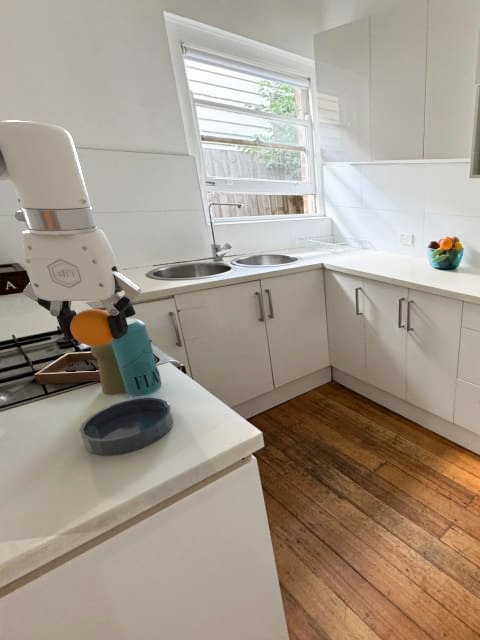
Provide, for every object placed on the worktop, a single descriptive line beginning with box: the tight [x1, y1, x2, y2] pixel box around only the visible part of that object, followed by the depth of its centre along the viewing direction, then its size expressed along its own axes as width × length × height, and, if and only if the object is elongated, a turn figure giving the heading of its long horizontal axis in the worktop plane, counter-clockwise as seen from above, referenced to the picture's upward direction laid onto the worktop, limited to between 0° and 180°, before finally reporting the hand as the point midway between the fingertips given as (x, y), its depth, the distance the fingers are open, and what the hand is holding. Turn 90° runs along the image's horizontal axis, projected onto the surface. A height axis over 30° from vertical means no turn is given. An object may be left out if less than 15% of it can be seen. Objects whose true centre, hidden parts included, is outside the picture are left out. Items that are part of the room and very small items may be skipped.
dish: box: [78, 397, 175, 457], centre depth 69 cm, size 13×13×3 cm
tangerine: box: [70, 308, 114, 347], centre depth 61 cm, size 6×6×6 cm
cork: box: [90, 342, 127, 396], centre depth 81 cm, size 6×6×11 cm
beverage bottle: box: [111, 303, 162, 397], centre depth 76 cm, size 6×7×20 cm
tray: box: [33, 351, 101, 385], centre depth 89 cm, size 13×11×2 cm
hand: (97, 335), depth 62 cm, fingers closed on tangerine, 6 cm apart
